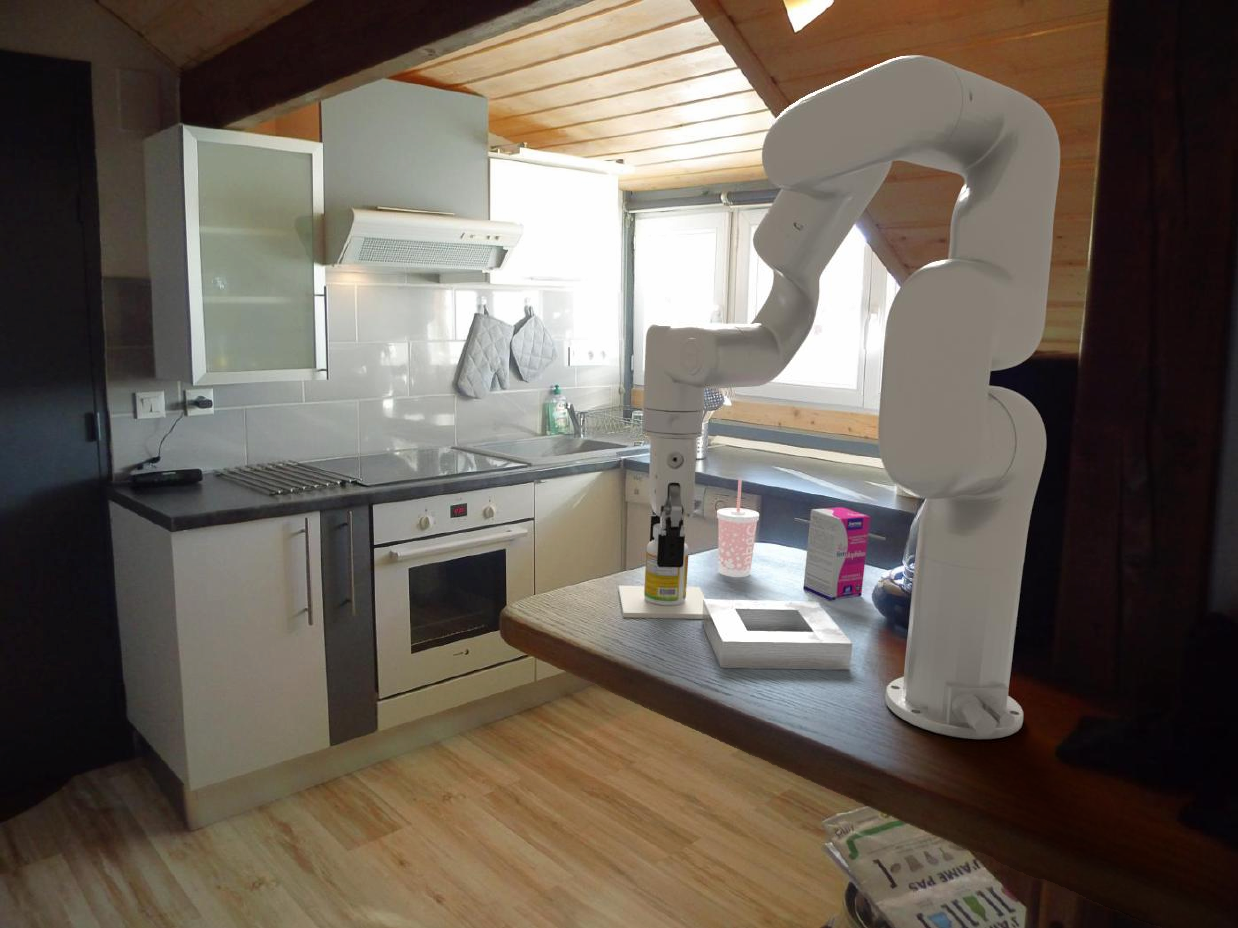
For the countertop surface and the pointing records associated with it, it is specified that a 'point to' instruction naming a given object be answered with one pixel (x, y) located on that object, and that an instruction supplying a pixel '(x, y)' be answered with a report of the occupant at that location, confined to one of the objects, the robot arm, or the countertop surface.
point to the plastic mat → (641, 608)
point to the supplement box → (836, 553)
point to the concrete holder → (775, 635)
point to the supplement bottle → (664, 576)
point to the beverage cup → (736, 538)
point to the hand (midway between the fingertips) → (665, 555)
